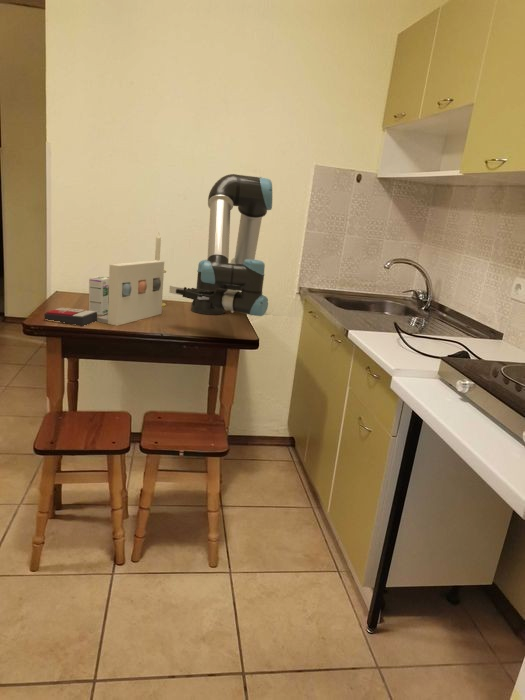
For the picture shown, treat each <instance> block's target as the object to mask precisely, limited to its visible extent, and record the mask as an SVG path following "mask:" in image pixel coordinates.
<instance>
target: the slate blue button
mask: <svg viewBox="0 0 525 700" xmlns="http://www.w3.org/2000/svg"><path fill="white" fill-rule="evenodd" d="M130 293H131V285H130V284H126V283H122V295H126V296H128V295H130Z"/></svg>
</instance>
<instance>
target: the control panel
mask: <svg viewBox="0 0 525 700" xmlns="http://www.w3.org/2000/svg"><path fill="white" fill-rule="evenodd" d="M108 270H109V273H108V277H109V304H108V313H107V314H105V315H102V316H97V321H96V322H98V323H102V324H107V325H111V326H115V327H117V326H121V325H126V324H128V323H133V322H136V321H140V320H143V319H146V318H147V319H148V318H152V317H155V316H158V315H162V311H163V310H162V308H163V306H162V302H163V295H164V294H163V290H164V277H165V276H164V274H165V273H164V270H165V261H162V260H160V261H158V260H155V259H154V260H144V261H143V260H142V261H133V262H123V263H110V264H109V269H108ZM153 278H154V279H159V280H160V281H161V286H160V288H159V290H154V289H153ZM139 281H144V282H146V284H147V289H146V291H145V292H144V293H141V292H138V283H139ZM122 283H126V284H130V285H131V293H130V295H128V296H126V295H122Z"/></svg>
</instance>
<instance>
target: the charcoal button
mask: <svg viewBox="0 0 525 700" xmlns="http://www.w3.org/2000/svg"><path fill="white" fill-rule="evenodd" d="M160 286H161V281H160V280H159V279H154V278H153V289H154V290H159V288H160Z"/></svg>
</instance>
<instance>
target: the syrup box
mask: <svg viewBox="0 0 525 700" xmlns="http://www.w3.org/2000/svg"><path fill="white" fill-rule="evenodd" d="M107 277H108V276H100V275H99V276H97V275H96V276H93V277H89V278H88V281H89V282H88V286H89V287H88V311H95V312H97V316H100V317H102V316H105V315H108V304H109V278H107Z"/></svg>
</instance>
